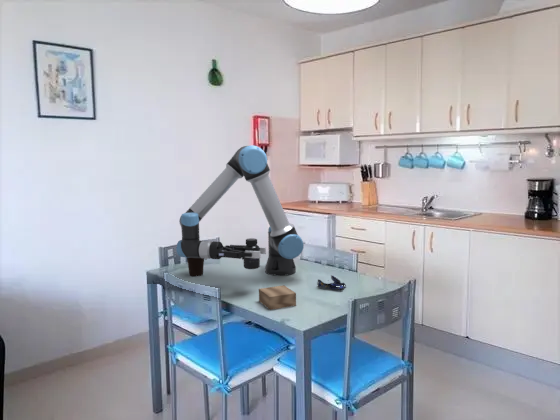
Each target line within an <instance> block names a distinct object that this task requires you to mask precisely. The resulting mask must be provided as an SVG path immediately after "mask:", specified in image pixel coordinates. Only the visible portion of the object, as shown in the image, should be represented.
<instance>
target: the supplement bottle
mask: <svg viewBox="0 0 560 420" xmlns="http://www.w3.org/2000/svg"><path fill="white" fill-rule="evenodd" d="M244 245H245V246H244V248H243V251H244V253H245V251H260V248H259V247H260V246H259V244H258V239H257V238H253V237H251V238H246V239H245V244H244ZM260 264H261V258H245V257H244V259H243V268H244V269H245V270H257V269H259V268H260V267H261V265H260Z"/></svg>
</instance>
